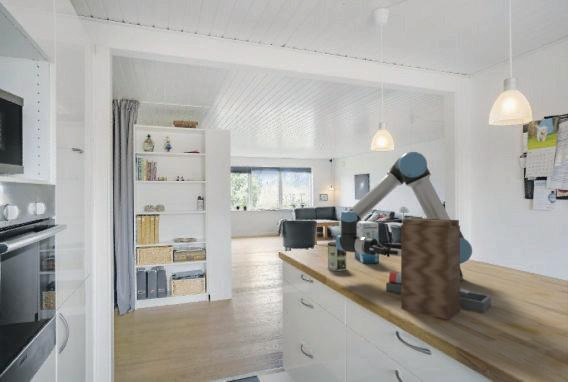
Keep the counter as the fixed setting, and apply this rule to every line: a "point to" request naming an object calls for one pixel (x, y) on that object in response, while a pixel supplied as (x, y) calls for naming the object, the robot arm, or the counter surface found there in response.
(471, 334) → the counter surface
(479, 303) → the tray
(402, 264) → the post
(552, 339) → the counter surface
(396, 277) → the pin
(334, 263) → the coffee can
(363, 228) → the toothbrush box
